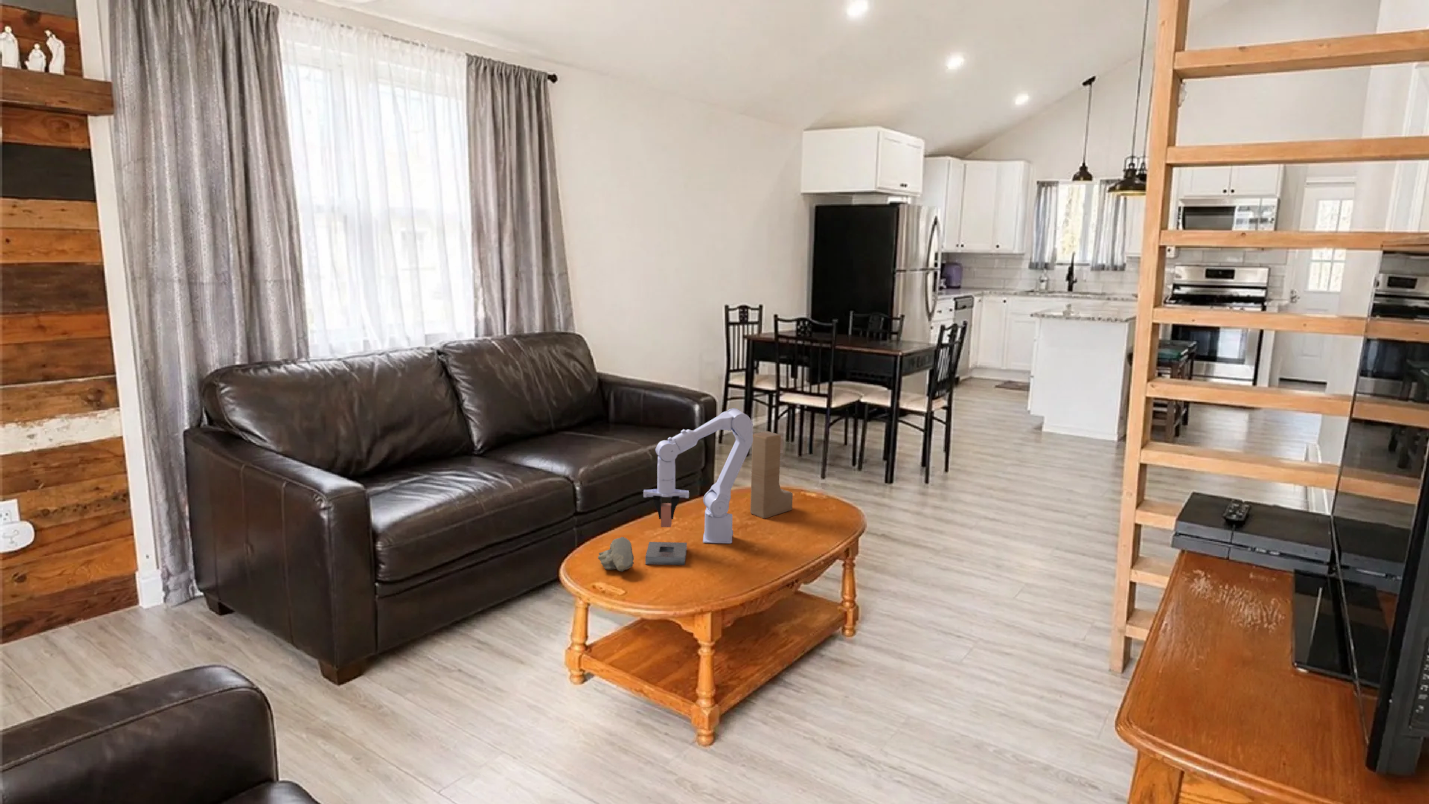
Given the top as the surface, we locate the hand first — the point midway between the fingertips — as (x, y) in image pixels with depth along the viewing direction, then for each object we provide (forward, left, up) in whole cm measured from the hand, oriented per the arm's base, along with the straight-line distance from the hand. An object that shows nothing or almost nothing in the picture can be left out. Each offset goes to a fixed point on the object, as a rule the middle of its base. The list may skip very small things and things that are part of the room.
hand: (666, 518), depth 264 cm
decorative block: (-36, -33, -9) cm, 50 cm away
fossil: (+13, +21, -9) cm, 26 cm away
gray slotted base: (-1, +11, -9) cm, 14 cm away
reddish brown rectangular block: (0, 0, -2) cm, 2 cm away
